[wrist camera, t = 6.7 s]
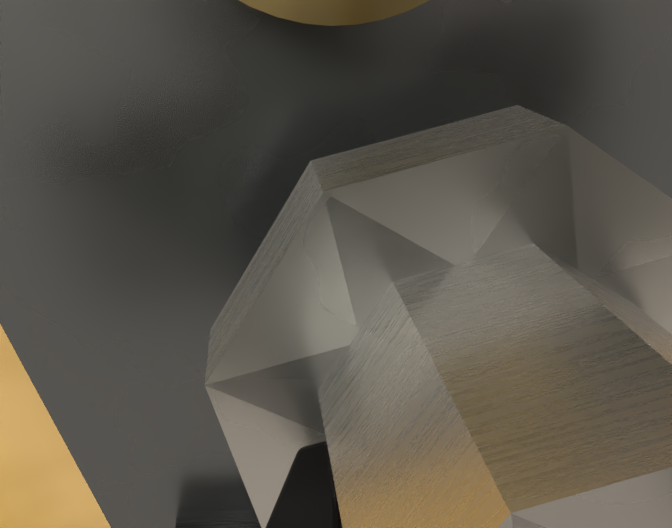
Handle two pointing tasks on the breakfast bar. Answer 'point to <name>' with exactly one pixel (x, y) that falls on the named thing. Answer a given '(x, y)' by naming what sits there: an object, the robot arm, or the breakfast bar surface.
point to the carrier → (242, 181)
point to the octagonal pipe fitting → (460, 334)
